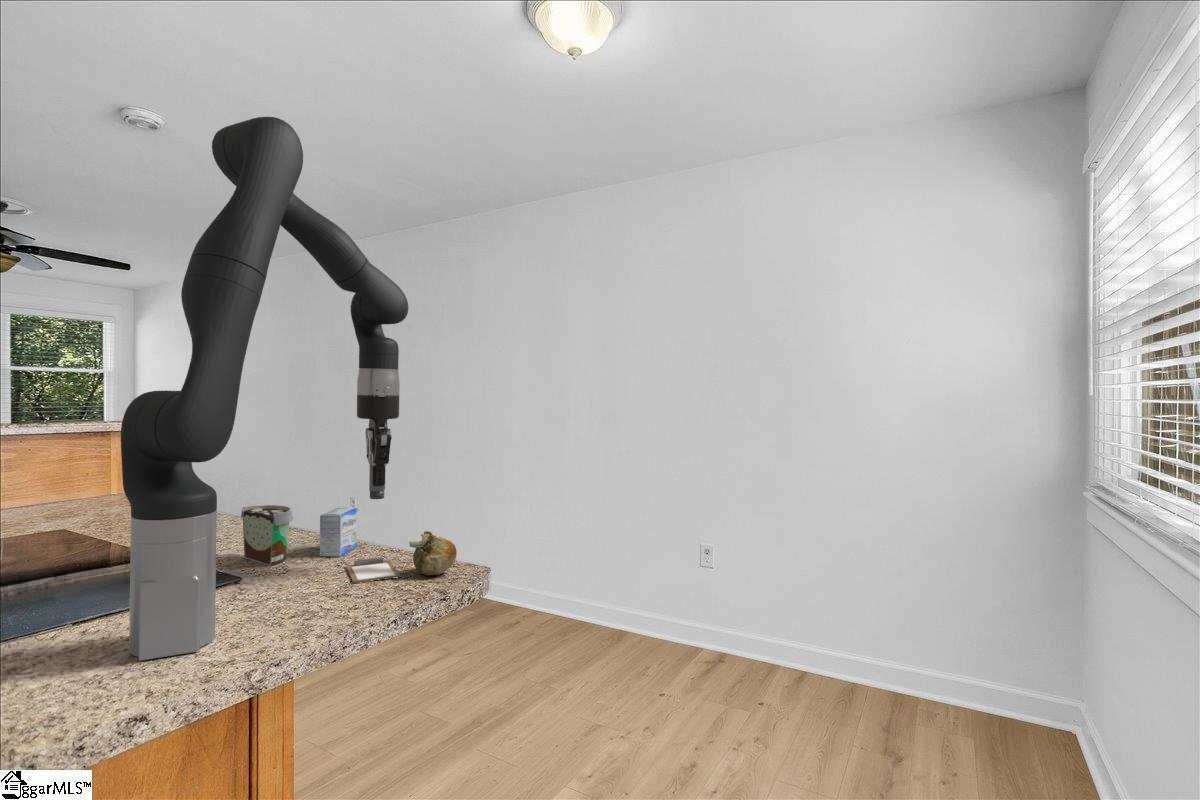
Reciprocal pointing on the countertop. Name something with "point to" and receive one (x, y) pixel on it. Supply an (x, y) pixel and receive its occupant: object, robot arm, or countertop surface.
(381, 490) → the marker
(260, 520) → the food container
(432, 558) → the onion
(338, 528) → the medicine box
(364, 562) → the clipboard
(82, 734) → the countertop surface
